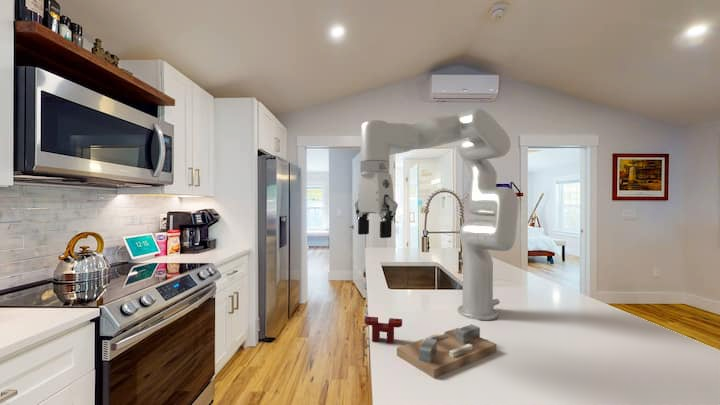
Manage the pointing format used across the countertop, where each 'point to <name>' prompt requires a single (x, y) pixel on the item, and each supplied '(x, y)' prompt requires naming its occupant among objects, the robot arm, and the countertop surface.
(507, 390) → the countertop surface
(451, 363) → the jig
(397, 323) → the bracket
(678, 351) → the countertop surface
